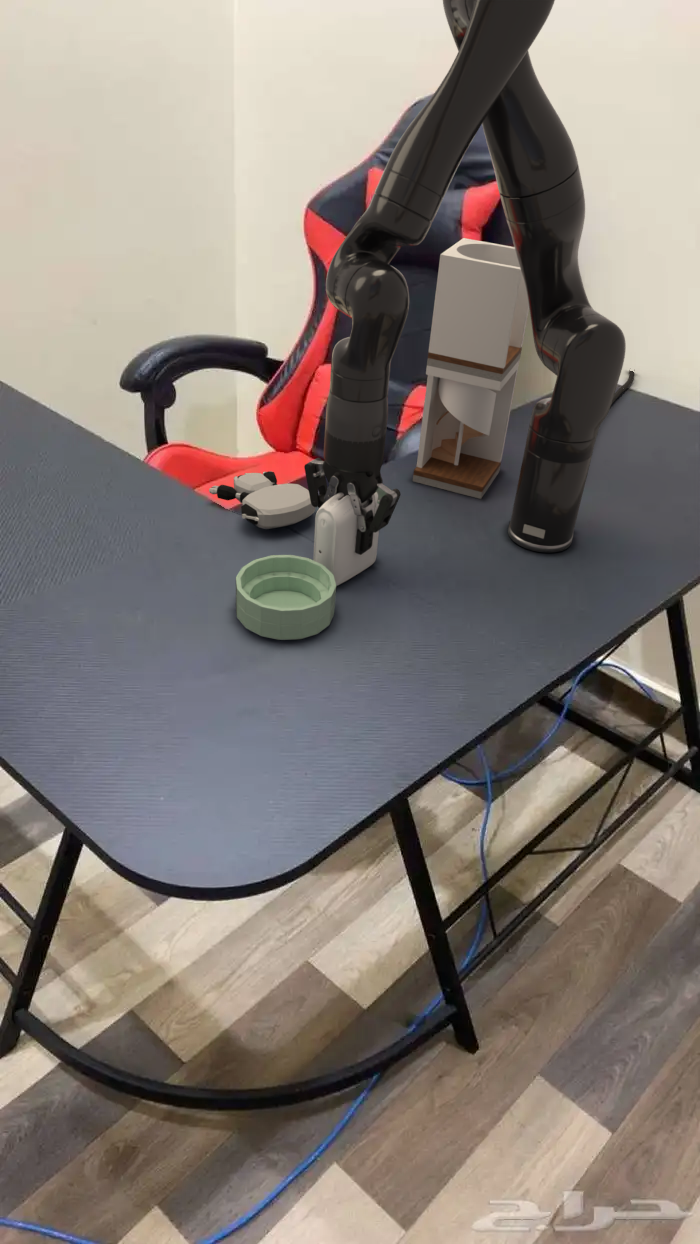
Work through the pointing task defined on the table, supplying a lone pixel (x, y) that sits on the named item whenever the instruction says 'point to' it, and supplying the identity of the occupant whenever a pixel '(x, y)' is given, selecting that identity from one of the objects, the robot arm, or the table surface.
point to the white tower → (471, 366)
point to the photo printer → (341, 539)
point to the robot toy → (267, 500)
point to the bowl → (285, 597)
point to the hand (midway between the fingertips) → (346, 544)
